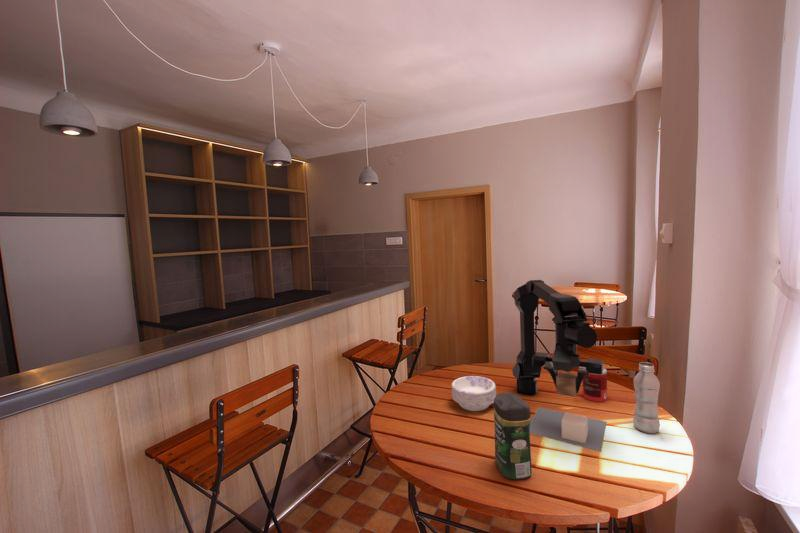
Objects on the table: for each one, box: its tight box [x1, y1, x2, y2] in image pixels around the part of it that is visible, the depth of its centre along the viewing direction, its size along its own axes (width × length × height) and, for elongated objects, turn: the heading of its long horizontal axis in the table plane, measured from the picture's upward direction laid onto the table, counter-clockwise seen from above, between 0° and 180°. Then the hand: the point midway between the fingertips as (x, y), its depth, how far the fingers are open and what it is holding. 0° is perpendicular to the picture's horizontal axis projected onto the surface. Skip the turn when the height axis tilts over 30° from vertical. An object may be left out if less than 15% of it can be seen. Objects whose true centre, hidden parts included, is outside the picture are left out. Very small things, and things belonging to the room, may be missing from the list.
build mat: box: [530, 407, 608, 453], centre depth 108 cm, size 20×18×1 cm
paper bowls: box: [451, 375, 497, 412], centre depth 125 cm, size 15×15×8 cm
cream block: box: [562, 411, 589, 443], centre depth 102 cm, size 6×6×5 cm
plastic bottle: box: [632, 362, 661, 435], centre depth 104 cm, size 6×7×20 cm
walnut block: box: [555, 371, 578, 398], centre depth 106 cm, size 5×5×5 cm
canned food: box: [581, 367, 608, 403], centre depth 126 cm, size 8×8×11 cm
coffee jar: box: [493, 392, 533, 481], centre depth 89 cm, size 10×8×19 cm
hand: (567, 390), depth 106 cm, fingers closed on walnut block, 5 cm apart
